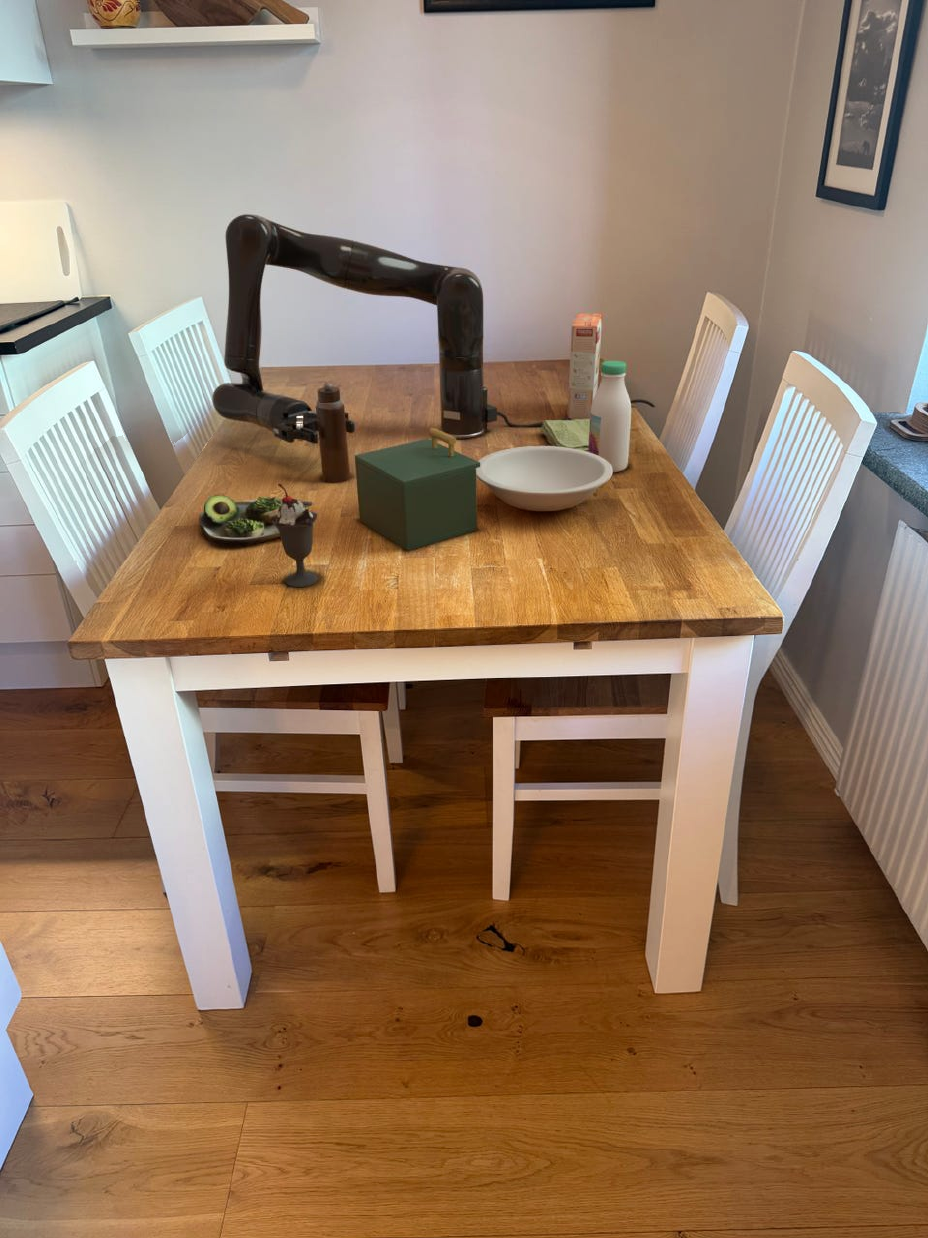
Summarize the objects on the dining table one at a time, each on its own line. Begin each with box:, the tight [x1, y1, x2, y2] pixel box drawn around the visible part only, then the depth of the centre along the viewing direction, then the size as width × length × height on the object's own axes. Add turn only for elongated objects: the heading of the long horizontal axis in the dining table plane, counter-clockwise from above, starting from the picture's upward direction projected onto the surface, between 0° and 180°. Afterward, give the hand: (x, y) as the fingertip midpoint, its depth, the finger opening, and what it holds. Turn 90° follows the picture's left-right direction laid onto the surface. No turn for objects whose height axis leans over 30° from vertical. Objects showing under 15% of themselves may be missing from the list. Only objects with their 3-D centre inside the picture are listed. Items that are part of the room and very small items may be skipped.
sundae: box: [271, 483, 319, 588], centre depth 134 cm, size 7×7×15 cm
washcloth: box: [540, 419, 590, 452], centre depth 191 cm, size 13×18×3 cm
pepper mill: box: [315, 381, 351, 483], centre depth 172 cm, size 5×5×18 cm
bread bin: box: [354, 459, 478, 552], centre depth 153 cm, size 14×16×11 cm
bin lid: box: [354, 427, 480, 487], centre depth 149 cm, size 14×16×4 cm
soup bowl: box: [476, 445, 614, 512], centre depth 162 cm, size 24×24×7 cm
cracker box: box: [566, 312, 603, 420], centre depth 206 cm, size 14×6×21 cm, turn 168°
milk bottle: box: [588, 360, 632, 473], centre depth 174 cm, size 8×8×20 cm
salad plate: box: [198, 494, 313, 548], centre depth 156 cm, size 19×18×5 cm
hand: (335, 432), depth 172 cm, fingers open, 8 cm apart
